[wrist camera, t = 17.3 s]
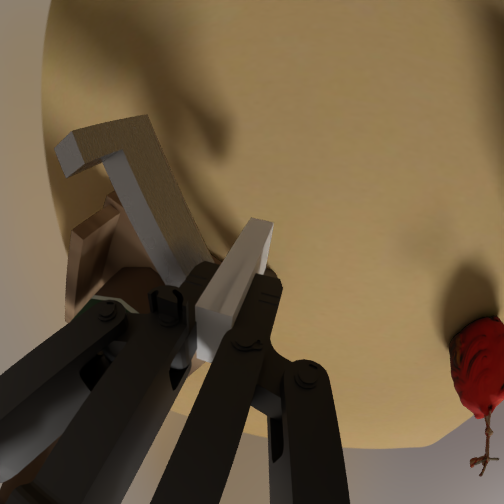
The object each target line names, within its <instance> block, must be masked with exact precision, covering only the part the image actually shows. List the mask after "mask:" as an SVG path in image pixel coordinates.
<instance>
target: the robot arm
mask: <svg viewBox="0 0 504 504" xmlns="http://www.w3.org/2000/svg"><path fill="white" fill-rule="evenodd" d="M273 226H274V223H273V222H269V221H265V220H260V219H256V218H250V220H249V221H248V223H247V224H246V226H245V227H244V229H243V230H242V232H241V234H240V235H239V237H238V238H237V240H236V241H235V243H234V245H233V246H232V248H231V249H230V251H229V252H228V254H227V255H226V257H225V259H224V260H223V262H222V263H221V265H219V264H216V263H212V262H208V261H203V262H201V263H200V264H198V265H196V266H195V267H194V268H193V269H192V271H191V272H190V273H189V275H188V276H187V277H186V279H185V281H184V282H183V283H182V284H181V285H180V287H179V288H178V287H176V286H171V285H163V286H158V287H155V288H153V289H151V290H150V291H149V292H148V293H147V294H148V300H149V307H150V313H148V314H140V313H130V312H126V310H125V307H124V306H123V304H122V303H120V302H118V301H116V300H104V301H101V302H99V303H97V304H95V305H94V306H92V307H91V308H89V309H88V310H87V311H85V312H84V313H82V314H81V315H80V316H78V317H77V318H75V319H74V320H73V321H71V322H70V323H68V324H67V325H66V326H64V327H63V328H61V329H60V330H59V331H57V332H56V333H55V334H53V335H52V336H51V337H49V338H48V339H47V340H45V341H44V342H43V343H41V344H40V345H39V346H37V347H36V348H35V349H33V350H32V351H31V352H29V353H28V354H27V355H26V356H24V357H23V358H22V359H20V360H19V361H18V362H17V363H15V364H14V365H13V366H11V367H10V368H9V369H8V370H7V371H5V372H4V373H3V374H2V375H0V483H3V482H5V481H7V480H9V479H11V478H12V477H13V476H15V475H16V474H18V473H19V472H20V471H21V470H22V469H23V468H24V467H26V466H27V465H28V464H29V463H30V462H31V461H32V460H34V459H35V458H36V457H37V456H38V455H39V454H40V453H41V452H43V451H44V450H45V449H46V448H47V447H48V446H49V445H51V444H52V443H53V442H54V441H55V440H56V439H57V438H58V437H60V436H61V437H60V438H59V440H58V442H57V443H56V445H55V446H54V448H53V449H52V451H51V453H50V454H49V456H48V457H47V459H46V461H45V462H44V464H43V465H42V467H41V469H40V470H39V472H38V474H37V475H36V477H35V479H34V480H33V481H32V482H30V483H27V484H23V485H20V486H18V487H16V488H15V489H14V490H13V491H12V492H11V494H10V496H9V497H8V499H7V501H6V503H5V504H121V502H122V500H123V498H124V496H125V494H126V492H127V491H128V489H129V487H130V485H131V483H132V481H133V479H134V477H135V475H136V473H137V472H138V470H139V468H140V466H141V464H142V462H143V460H144V458H145V456H146V454H147V453H148V451H149V449H150V447H151V445H152V443H153V441H154V439H155V437H156V435H157V433H158V431H159V430H160V428H161V426H162V424H163V422H164V420H165V418H166V416H167V414H168V412H169V411H170V409H171V407H172V405H173V403H174V401H175V399H176V397H177V395H178V393H179V392H180V390H181V388H182V386H183V384H184V382H185V380H186V378H187V376H188V374H189V372H190V370H191V367H192V361H191V360H192V358H193V356H194V354H195V352H196V354H197V358H198V359H201V360H204V361H207V362H210V363H212V364H211V366H210V368H209V370H208V373H207V375H206V377H205V380H204V382H203V384H202V387H201V389H200V391H199V394H198V396H197V398H196V400H195V403H194V405H193V407H192V410H191V412H190V414H189V416H188V419H187V421H186V423H185V426H184V428H183V430H182V433H181V435H180V437H179V439H178V442H177V444H176V446H175V449H174V451H173V453H172V455H171V457H170V460H169V462H168V464H167V466H166V469H165V471H164V473H163V475H162V478H161V480H160V482H159V484H158V487H157V489H156V491H155V494H154V496H153V498H152V500H151V502H150V504H219V502H220V499H221V496H222V493H223V490H224V488H225V485H226V482H227V479H228V476H229V473H230V470H231V467H232V464H233V461H234V457H235V454H236V451H237V448H238V445H239V442H240V438H241V435H242V432H243V429H244V426H245V422H246V419H247V416H248V412H249V409H250V405H251V406H252V407H254V408H255V409H257V410H259V411H260V412H262V413H264V414H265V415H267V425H268V453H269V484H270V504H350V499H349V491H348V483H347V477H346V470H345V463H344V456H343V450H342V444H341V438H340V432H339V427H338V421H337V416H336V410H335V405H334V400H333V395H332V390H331V385H330V380H329V376H328V374H327V372H326V370H325V369H324V368H323V367H322V366H321V365H320V364H318V363H316V362H314V361H311V360H305V359H303V360H296V361H294V362H291V361H289V360H287V359H286V358H284V357H282V356H281V355H280V354H278V353H277V352H276V351H275V350H274V348H273V346H272V344H271V341H270V335H271V332H272V328H273V324H274V321H275V317H276V313H277V309H278V306H279V302H280V298H281V294H282V290H283V287H282V284H281V281H280V279H278V278H274V277H270V276H266V275H263V274H264V271H265V269H266V263H267V258H268V253H269V247H270V242H271V236H272V231H273Z"/></svg>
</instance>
